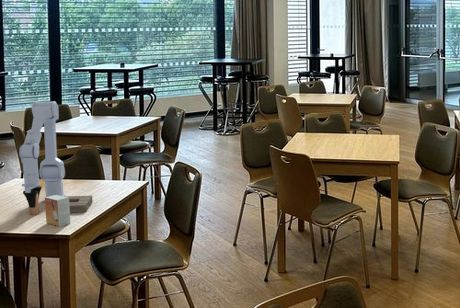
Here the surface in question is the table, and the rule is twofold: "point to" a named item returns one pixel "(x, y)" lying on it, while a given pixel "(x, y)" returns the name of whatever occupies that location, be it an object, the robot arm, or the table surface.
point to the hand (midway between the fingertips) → (33, 205)
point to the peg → (35, 210)
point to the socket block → (79, 203)
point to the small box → (57, 210)
